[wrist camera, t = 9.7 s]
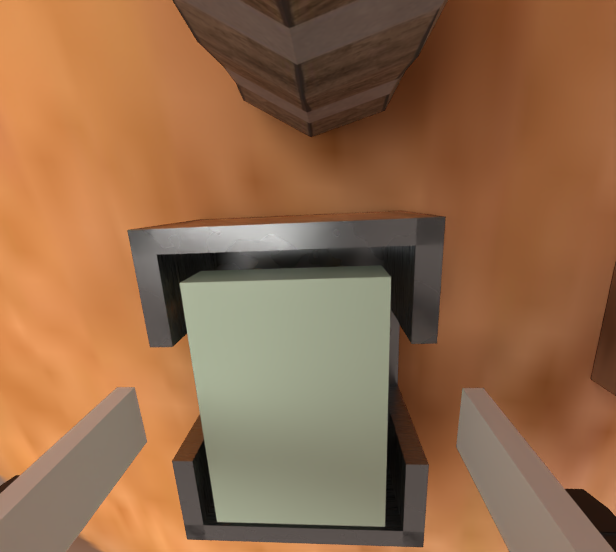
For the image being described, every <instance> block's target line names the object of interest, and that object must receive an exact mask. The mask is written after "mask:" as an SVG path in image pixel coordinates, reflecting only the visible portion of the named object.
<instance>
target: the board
mask: <svg viewBox="0 0 616 552" xmlns="http://www.w3.org/2000/svg"><path fill="white" fill-rule="evenodd" d="M180 290H181V296H182V302H183V309H184V315H185V321H186V328H187V334H188V340H189V347H190V353H191V360H192V366H193V372H194V379H195V385H196V391H197V398H198V404H199V410H200V417H201V423H202V429H203V436H204V442H205V448H206V455H207V461H208V467H209V474H210V480H211V486H212V493H213V499H214V505H215V512H216V518H217V522H237V523H272V524H306V525H341V526H375V527H385V508H386V467H387V425H388V384H389V343H390V301H391V276H390V275H389V274H388V273H387V272H386V270H385V269H384V268H383V267H382V266H381V265H376V266H344V267H312V268H280V269H248V270H217V271H200V272H198V273H196V274H195V275H193V276H191V277H189V278H187V279H186V280H184V281H182V282H180Z"/></svg>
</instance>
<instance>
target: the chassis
mask: <svg viewBox="0 0 616 552" xmlns="http://www.w3.org/2000/svg"><path fill="white" fill-rule="evenodd" d="M444 230H445V217H443V216H436V215H428V214H421V213H413V212H405V211H388V212H365V213H342V214H319V215H296V216H273V217H250V218H228V219H205V220H193V221H186V222H179V223H173V224H166V225H159V226H152V227H145V228H138V229H132V230H127V231H128V236H129V241H130V246H131V251H132V256H133V262H134V267H135V272H136V277H137V282H138V287H139V293H140V298H141V303H142V308H143V313H144V318H145V324H146V329H147V334H148V339H149V344H150V347H173V346H174V345H175V344H176V343H177V342H178V341H179V340H180V339H181V338H182V337H184V336H185V335H186V334H187V328H186V321H185V315H184V309H183V302H182V296H181V290H180V282H182V281H184V280H186V279H187V278H189V277H191V276H193V275H195V274H196V273H198V272H200V271H217V270H248V269H280V268H312V267H344V266H376V265H381V266H382V267H383V268H384V269H385V270H386V272H387V273H388V274H389V275H390V276H391V301H390V343H389V384H388V425H387V467H386V508H385V527H375V526H341V525H306V524H272V523H237V522H217V518H216V512H215V505H214V499H213V493H212V486H211V480H210V474H209V467H208V461H207V455H206V448H205V442H204V436H203V429H202V423H201V417H200V415H199V417H198V418H197V420H196V422H195V423H194V425H193V427H192V428H191V430H190V432H189V433H188V435H187V437H186V438H185V440H184V442H183V444H182V445H181V447H180V449H179V450H178V452H177V454H176V455H175V457H174V459H173V460H172V463H173V468H174V474H175V479H176V484H177V489H178V494H179V499H180V505H181V510H182V515H183V520H184V525H185V530H186V536H187V539H191V540H221V541H251V542H281V543H311V544H341V545H371V546H401V547H423V543H424V528H425V513H426V498H427V483H428V468H429V464H428V462H427V459H426V456H425V454H424V451H423V449H422V446H421V444H420V441H419V438H418V436H417V433H416V431H415V428H414V426H413V423H412V420H411V418H410V415H409V413H408V410H407V408H406V405H405V402H404V400H403V397H402V395H401V392H400V390H399V387H398V356H399V326H400V325H401V327H402V329H403V330H404V332H405V334H406V335H407V337H408V339H409V341H410V342H411V344H434V343H437V334H438V320H439V305H440V290H441V275H442V260H443V245H444Z"/></svg>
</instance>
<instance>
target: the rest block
mask: <svg viewBox="0 0 616 552" xmlns="http://www.w3.org/2000/svg"><path fill="white" fill-rule="evenodd" d="M591 380H593V381H594V382H596V383H597V384H599V385H600V386H602V387H603V388H605V389H606V390H608V391H609V392H611V393H612V394H614V395H615V396H616V264H615V269H614V274H613V278H612V283H611V288H610V292H609V297H608V302H607V306H606V311H605V316H604V320H603V325H602V330H601V334H600V339H599V344H598V348H597V353H596V358H595V362H594V367H593V372H592V377H591Z"/></svg>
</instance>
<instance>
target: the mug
mask: <svg viewBox="0 0 616 552" xmlns="http://www.w3.org/2000/svg"><path fill="white" fill-rule="evenodd" d="M447 1H448V0H173V2H174V4H175V5H176V7H177V9H178V10H179V12H180V14H181V15H182V17H183V19H184V20H185V22H186V23H187V25H188V27H189V28H190V30H191V32H192V33H193V35H194V37H195V38H196V40H197V41H198V42H199V43H200V44H201V45H202V46H203V47H204V48H205V49H206V50H207V51H208V52H209V53H210V54H211V55H212V56H213V57H214V58H215V59H216V60H217V61H218V62H219V63H220V64H221V65H222V66H223V67H224V68H225V69H226V70H227V72H228V73H229V74H230V76H231V77H232V78H233V80H234V81H235V82H236V84H237V86H238V89H239V91H240V93H241V96H242V98H243V100H244V101H246V102H248V103H250V104H251V105H253V106H255V107H257V108H259V109H261V110H262V111H264V112H266V113H268V114H270V115H272V116H273V117H275V118H277V119H279V120H281V121H283V122H284V123H286V124H288V125H290V126H292V127H294V128H295V129H297V130H299V131H301V132H303V133H304V134H306V135H308V136H310V137H312V136H315V135H318V134H321V133H324V132H326V131H329V130H332V129H335V128H337V127H340V126H343V125H346V124H349V123H351V122H354V121H357V120H360V119H362V118H365V117H368V116H371V115H373V114H376V113H379V112H382V111H385V109H386V107H387V105H388V103H389V101H390V99H391V97H392V96H393V94H394V92H395V90H396V88H397V86H398V84H399V82H400V80H401V78H402V76H403V75H404V73H405V71H406V70H407V68H408V67H409V66H410V65H411V64H412V63H413V62H414V60H415V59H416V58H417V57H418V56H419V54H420V52H421V50H422V48H423V46H424V44H425V42H426V41H427V39H428V37H429V35H430V33H431V31H432V29H433V27H434V25H435V24H436V22H437V20H438V18H439V16H440V14H441V12H442V10H443V8H444V7H445V5H446V3H447Z"/></svg>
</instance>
